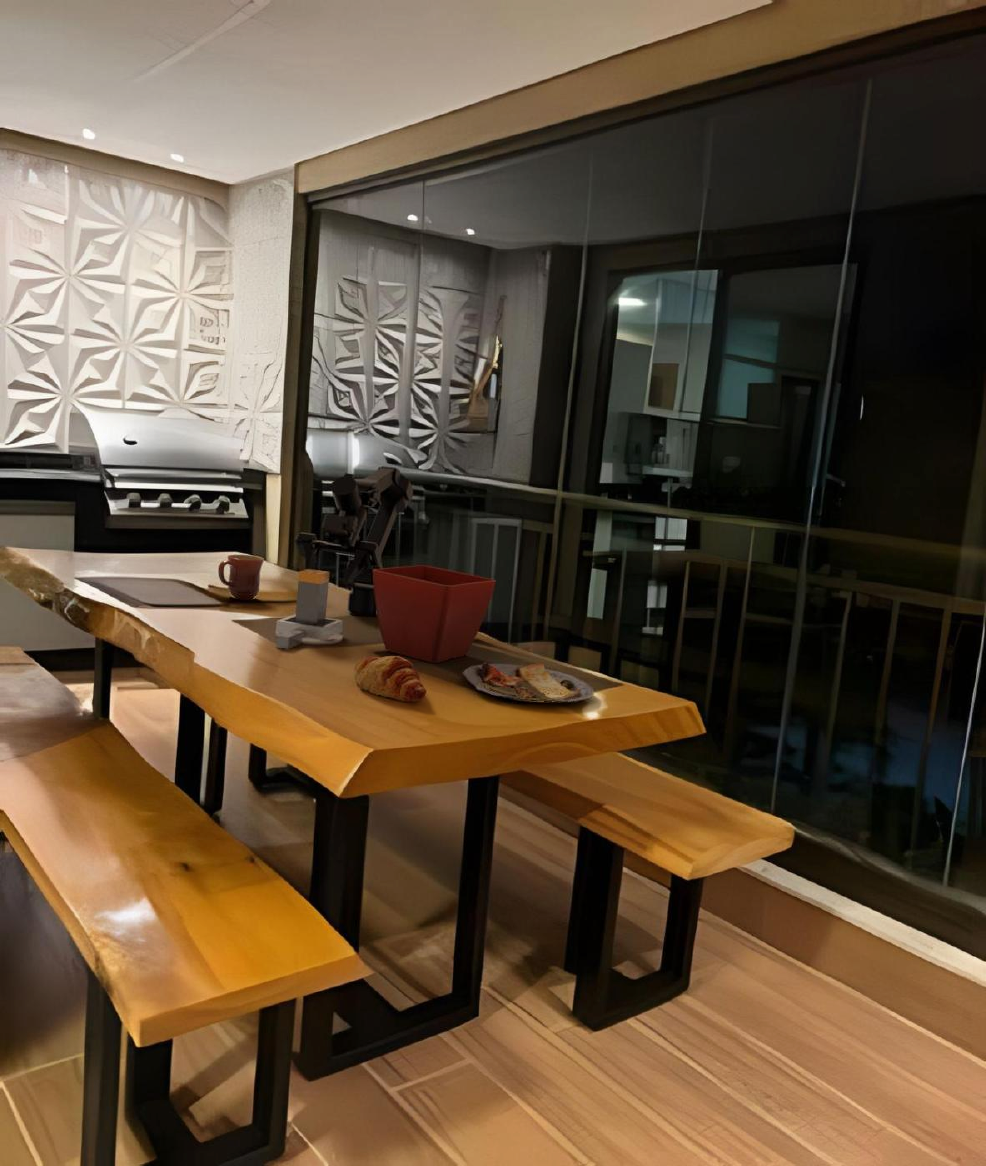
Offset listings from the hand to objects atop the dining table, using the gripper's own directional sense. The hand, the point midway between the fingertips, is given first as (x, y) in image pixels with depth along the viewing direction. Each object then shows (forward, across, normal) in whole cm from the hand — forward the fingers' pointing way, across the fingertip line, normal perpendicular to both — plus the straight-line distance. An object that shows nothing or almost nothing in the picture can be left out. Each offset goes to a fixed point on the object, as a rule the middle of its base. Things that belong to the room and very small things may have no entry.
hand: (326, 579), depth 211 cm
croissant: (+34, +28, -18) cm, 48 cm away
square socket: (+15, 0, +1) cm, 15 cm away
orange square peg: (+12, 0, +2) cm, 13 cm away
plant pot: (+12, +26, +5) cm, 29 cm away
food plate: (+23, +50, -7) cm, 55 cm away
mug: (-6, -30, +23) cm, 39 cm away
